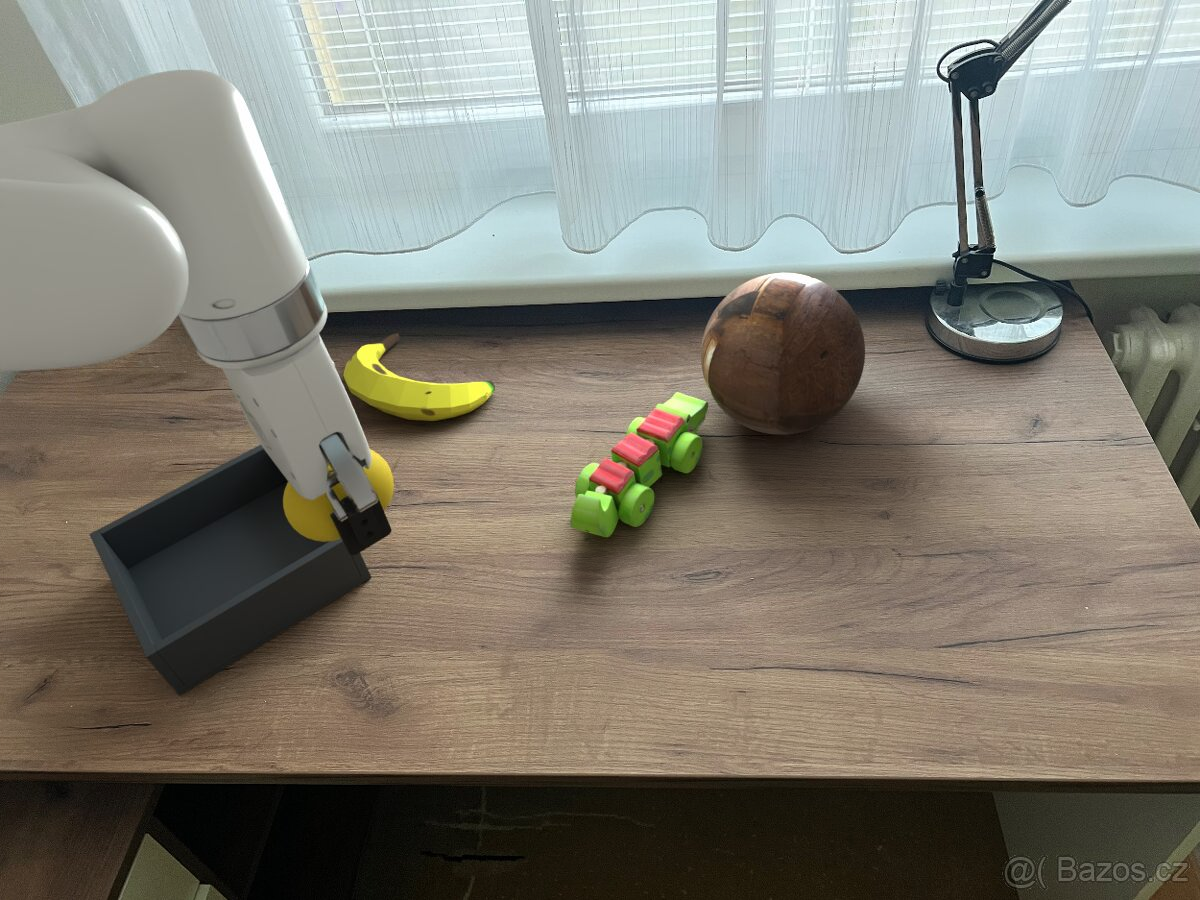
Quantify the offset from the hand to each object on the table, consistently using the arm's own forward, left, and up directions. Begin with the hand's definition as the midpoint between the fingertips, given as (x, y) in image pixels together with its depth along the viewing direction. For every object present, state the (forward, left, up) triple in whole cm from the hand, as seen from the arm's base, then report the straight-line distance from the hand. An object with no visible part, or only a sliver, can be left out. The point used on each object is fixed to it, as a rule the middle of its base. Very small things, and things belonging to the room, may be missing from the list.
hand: (349, 515), depth 62 cm
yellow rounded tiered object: (0, 0, -1) cm, 1 cm away
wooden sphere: (+41, -2, -16) cm, 44 cm away
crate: (-8, +16, -15) cm, 23 cm away
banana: (+18, +28, -16) cm, 37 cm away
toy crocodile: (+26, 0, -16) cm, 30 cm away
